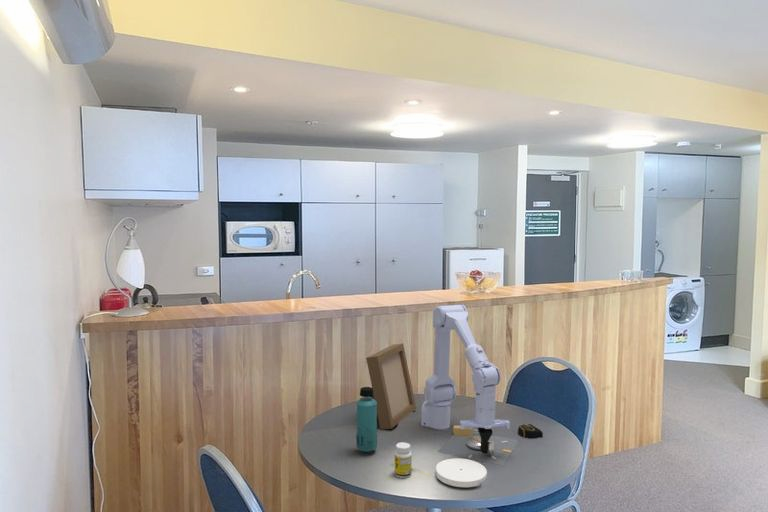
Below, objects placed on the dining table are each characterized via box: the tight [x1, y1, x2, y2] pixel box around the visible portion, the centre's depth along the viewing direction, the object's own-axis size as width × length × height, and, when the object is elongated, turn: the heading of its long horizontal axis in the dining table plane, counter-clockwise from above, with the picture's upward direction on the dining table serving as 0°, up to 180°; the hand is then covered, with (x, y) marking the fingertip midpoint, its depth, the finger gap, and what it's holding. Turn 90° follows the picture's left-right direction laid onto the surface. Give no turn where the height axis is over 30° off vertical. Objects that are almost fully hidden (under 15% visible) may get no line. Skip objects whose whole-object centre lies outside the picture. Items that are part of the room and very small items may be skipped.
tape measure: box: [517, 423, 544, 440], centre depth 176 cm, size 7×7×4 cm
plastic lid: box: [435, 457, 488, 488], centre depth 149 cm, size 14×14×2 cm
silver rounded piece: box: [466, 436, 494, 456], centre depth 165 cm, size 12×8×4 cm, turn 16°
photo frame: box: [365, 343, 417, 430], centre depth 193 cm, size 15×22×25 cm
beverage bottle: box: [355, 386, 378, 452], centre depth 164 cm, size 6×7×20 cm
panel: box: [436, 432, 519, 467], centre depth 167 cm, size 20×20×1 cm
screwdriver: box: [452, 425, 479, 436], centre depth 176 cm, size 12×2×2 cm, turn 88°
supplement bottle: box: [394, 441, 413, 479], centre depth 150 cm, size 5×5×8 cm
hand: (484, 451), depth 160 cm, fingers closed, pressing on silver rounded piece
